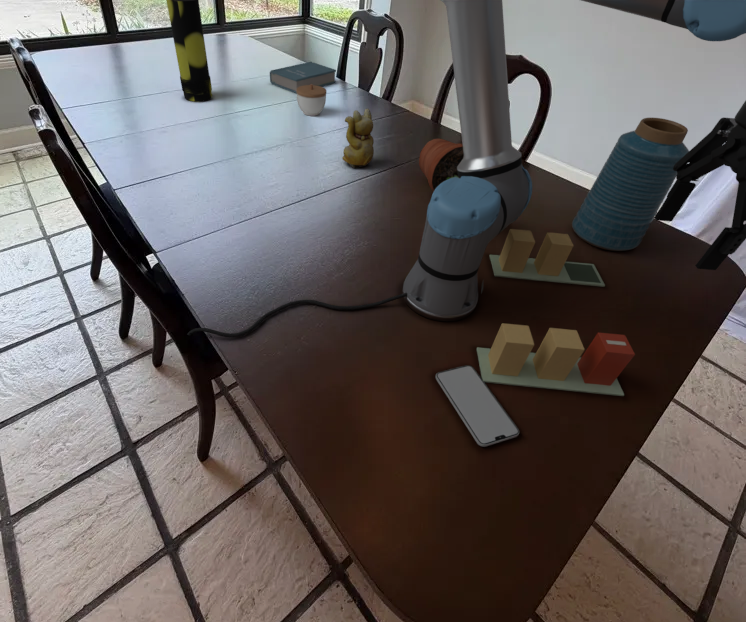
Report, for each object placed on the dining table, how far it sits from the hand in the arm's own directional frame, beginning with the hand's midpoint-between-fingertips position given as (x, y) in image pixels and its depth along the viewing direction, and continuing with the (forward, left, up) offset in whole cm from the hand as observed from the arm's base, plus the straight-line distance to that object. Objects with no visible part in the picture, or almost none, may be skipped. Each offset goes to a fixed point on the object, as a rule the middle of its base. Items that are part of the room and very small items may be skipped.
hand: (682, 242), depth 70 cm
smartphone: (-30, -20, -22) cm, 42 cm away
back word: (-9, +20, -21) cm, 31 cm away
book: (-82, +141, -22) cm, 165 cm away
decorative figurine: (-54, +67, -22) cm, 89 cm away
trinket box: (-74, +107, -22) cm, 132 cm away
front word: (-16, -11, -21) cm, 29 cm away
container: (-118, +113, -22) cm, 165 cm away
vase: (+10, +38, -22) cm, 45 cm away
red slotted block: (-8, -11, -21) cm, 25 cm away
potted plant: (-26, +46, -22) cm, 57 cm away
